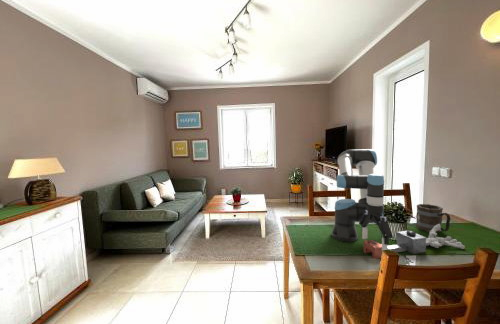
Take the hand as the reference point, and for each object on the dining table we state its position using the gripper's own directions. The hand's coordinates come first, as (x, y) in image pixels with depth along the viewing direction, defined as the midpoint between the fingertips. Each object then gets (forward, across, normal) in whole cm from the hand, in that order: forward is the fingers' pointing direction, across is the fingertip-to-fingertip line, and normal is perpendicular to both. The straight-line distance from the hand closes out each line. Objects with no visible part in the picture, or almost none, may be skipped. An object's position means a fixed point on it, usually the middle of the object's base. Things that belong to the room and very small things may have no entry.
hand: (374, 244), depth 114 cm
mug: (+5, +17, -60) cm, 63 cm away
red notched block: (+6, 0, 0) cm, 6 cm away
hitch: (+6, +1, -18) cm, 19 cm away
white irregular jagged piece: (+6, +2, -44) cm, 44 cm away
